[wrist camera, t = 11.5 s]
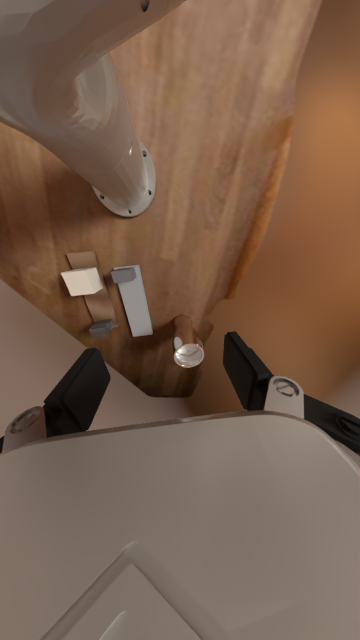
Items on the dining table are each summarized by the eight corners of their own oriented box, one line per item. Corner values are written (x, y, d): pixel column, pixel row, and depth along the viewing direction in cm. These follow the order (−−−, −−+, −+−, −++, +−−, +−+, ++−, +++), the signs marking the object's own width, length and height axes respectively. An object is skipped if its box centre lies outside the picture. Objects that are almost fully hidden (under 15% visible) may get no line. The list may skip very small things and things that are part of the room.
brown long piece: (68, 253, 33) (49, 254, 28) (94, 250, 34) (80, 251, 28) (98, 327, 43) (88, 338, 37) (118, 325, 43) (111, 336, 37)
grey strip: (114, 267, 36) (105, 270, 30) (139, 264, 36) (133, 267, 30) (133, 334, 45) (129, 346, 39) (153, 332, 45) (151, 344, 39)
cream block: (74, 269, 34) (60, 272, 30) (96, 267, 34) (85, 270, 30) (83, 290, 36) (71, 296, 32) (102, 288, 37) (94, 293, 32)
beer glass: (177, 336, 46) (180, 372, 33) (167, 318, 43) (167, 350, 30) (197, 327, 45) (209, 361, 32) (188, 309, 42) (198, 338, 29)
